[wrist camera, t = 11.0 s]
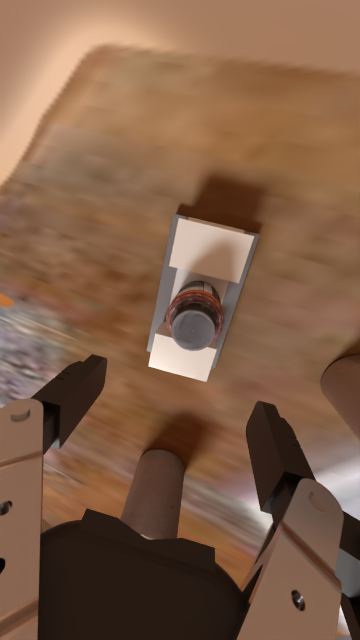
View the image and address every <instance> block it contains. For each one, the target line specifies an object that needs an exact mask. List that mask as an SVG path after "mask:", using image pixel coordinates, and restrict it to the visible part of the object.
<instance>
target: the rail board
mask: <svg viewBox="0 0 360 640" xmlns="http://www.w3.org/2000/svg"><path fill="white" fill-rule="evenodd" d="M259 236H260V234H256V233H252V232H248V231H245V230H241V229H237V228H233V227H229V226H225V225H220V224H216V223H212V222H208V221H204V220H200V219H196V218H191V217H185V216H181V215H177V214H174V215H173V220H172V225H171V230H170V235H169V240H168V245H167V250H166V255H165V260H164V266H163V271H162V276H161V281H160V286H159V291H158V296H157V301H156V306H155V312H154V317H153V322H152V327H151V332H150V337H149V342H148V347H147V351H149V352H151V356H150V361H149V367H153V368H156V369H160V370H164V371H168V372H171V373H175V374H179V375H182V376H186V377H190V378H193V379H197V380H201V381H205V382H206V381H207V378H208V375H209V372H210V369H211V368H212V369H215V366H216V363H217V360H218V357H219V354H220V351H221V348H222V345H223V342H224V339H225V336H226V333H227V330H228V327H229V325H230V322H231V319H232V316H233V313H234V310H235V307H236V304H237V301H238V298H239V295H240V292H241V289H242V286H243V283H244V280H245V277H246V274H247V271H248V268H249V265H250V262H251V259H252V256H253V253H254V250H255V248H256V245H257V242H258V239H259ZM192 281H204V282H207V283H209V284H210V285H212V286H213V287H214V288H215V289H216V291H217V292H218V294H219V297H220V301H221V305H222V309H223V314H224V326H223V330H222V332H221V334H220V335H219V337H218V338H217V339H216V340H215V341H213V342H212V343H211V344H210V345H209V346H208V347H206V348H204V349H202V350H199V351H189V350H185V349H183V348H181V347H180V346H179V345H178V344H177V343H176V342H175V341H174V339H173V337H172V335H171V334H170V332H169V330H168V327H167V323H166V316H167V311H168V308H169V306H170V305H171V303H172V301H173V300H174V298H175V297H176V295H177V294H178V292H179V291H180V289H181V288H182V287H183V286H184V285H186V284H188V283H189V282H192Z"/></svg>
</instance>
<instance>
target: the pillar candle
mask: <svg viewBox="0 0 360 640" xmlns="http://www.w3.org/2000/svg"><path fill="white" fill-rule="evenodd" d="M183 480H184V465H183V463H182V461H181V460H180V458H178V457H177V456H176V455H175V454H173V453H171V452H169V451H165V450H160V449H159V450H158V449H154V450H149V451H147V452H146V453H145V454H144V455H142V457H141V458H140V460H139V462H138V466H137V469H136V472H135V475H134V478H133V481H132V484H131V487H130V490H129V493H128V496H127V499H126V502H125V506H124V509H123V512H122V515H121V518H120V520H121V521H122V522H124V523H125V524H127V525H128V526H129V527H131V528H132V529H133V530H135V531H136V532H137V533H139V534H140V535H142V536H143V537H144V538H146V539H150V540H153V539H173V538H177V532H178V523H179V515H180V507H181V497H182V489H183Z"/></svg>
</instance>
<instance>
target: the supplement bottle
mask: <svg viewBox="0 0 360 640" xmlns="http://www.w3.org/2000/svg"><path fill="white" fill-rule="evenodd" d="M166 323H167V327H168V330H169V332H170V334H171V335H172V337H173V339H174V341H175V342H176V343H177V344H178V345H179V346H180V347H181V348H183V349H185V350H189V351H199V350H202V349H204V348H206V347H208V346H209V345H210V344H211V343H212V342H213V341H215V340H216V339H217V338H218V337H219V335H220V334H221V332H222V330H223V326H224V314H223V309H222V305H221V301H220V297H219V294H218V292H217V291H216V289H215V288H214V287H213V286H212V285H210V284H209V283H207V282H204V281H192V282H189V283H188V284H186V285H184V286H183V287H182V288H181V289H180V291H179V292H178V294H177V295H176V297H175V298H174V300H173V301H172V303H171V305H170V306H169V308H168V311H167V316H166Z"/></svg>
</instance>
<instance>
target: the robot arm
mask: <svg viewBox="0 0 360 640" xmlns="http://www.w3.org/2000/svg"><path fill="white" fill-rule="evenodd" d="M106 368H107V358H104V357H101V356H97V355H93V354H92V355H91V356H90V357H88V358H87V359H86V360H85V361H84V362H81V361H78V362H75V363H73V364H71V365H69V366H68V367H66V368H65V369H64V370H63V371H62V372H61V373H59V374H58V375H57V376H56V377H55V378H53V379H52V380H51V381H50V382H49V383H48V384H46V385H45V386H44V387H43V388H42V389H40V390H39V391H38V392H37V393H36V394H35V395H33V396H32V397H31V398H30V399H20V400H16V401H13V402H11V403H9V404H7V405H5V406H4V407H3V408H1V409H0V640H335V639H336V632H337V624H338V617H339V609H340V605H341V608H342V611H343V614H344V617H345V620H346V623H347V626H348V629H349V632H350V635H351V637H352V640H360V521H359V520H358V519H356V518H354V517H352V516H351V515H349V514H347V513H346V512H344V511H343V510H342V508H341V506H340V504H339V503H338V501H337V500H336V498H335V497H334V496H333V495H332V493H331V492H330V491H329V490H328V489H327V488H325V487H324V486H323V485H321V484H320V483H318V482H317V481H316V479H315V477H314V475H313V473H312V471H311V468H310V466H309V464H308V462H307V460H306V457H305V455H304V453H303V451H302V449H301V448H300V444H299V442H298V440H296V436H295V433H294V431H293V429H292V427H291V426H290V425H289V424H288V423H287V421H286V420H285V419H284V418H281V417H280V416H279V413H278V411H277V408H276V406H275V405H273V404H270V403H266V402H262V401H258V402H257V403H256V405H255V407H254V409H253V412H252V414H251V416H250V418H249V420H248V423H247V426H246V438H247V443H248V449H249V454H250V459H251V464H252V469H253V474H254V479H255V484H256V489H257V494H258V500H259V505H260V510H261V511H263V512H266V513H269V514H272V518H273V523H272V525H271V526H270V528H269V530H268V533H267V535H266V537H265V539H264V541H263V543H262V545H261V547H260V550H259V552H258V554H257V556H256V558H255V560H254V562H253V565H252V567H251V569H250V571H249V573H248V575H247V576H246V578H245V580H244V582H243V583H242V585H241V587H240V588H239V587H238V585H237V584H236V583H235V581H234V580H233V579H232V578H231V577H230V575H229V574H228V573H227V572H226V571H225V570H224V569H223V568H222V567H221V566H219V565H218V564H217V563H215V548H213V547H210V546H207V545H203V544H200V543H197V542H194V541H191V540H187V539H184V538H173V539H153V540H150V539H146V538H144V537H143V536H142V535H140V534H139V533H137V532H136V531H135V530H133V529H132V528H131V527H129V526H128V525H127V524H125V523H124V522H122V521H121V520H120V519H118V518H116V517H113V516H110V515H106V514H103V513H100V512H97V511H93V510H90V509H86V511H85V513H84V516H83V518H82V520H75V521H70V522H66V523H62V524H59V525H57V526H55V527H52V528H50V529H48V530H46V531H45V532H43V533H42V510H43V455H44V454H45V453H46V452H47V450H48V449H49V448H50V447H51V448H55V449H58V450H59V449H60V448H61V446H62V445H63V444H64V442H65V441H66V440H67V438H68V437H69V436H70V434H71V433H72V432H73V430H74V429H75V427H76V426H77V425H78V423H79V422H80V421H81V419H82V418H83V417H84V415H85V414H86V412H87V411H88V410H89V408H90V407H91V406H92V404H93V403H94V402H95V400H96V399H97V398H98V396H99V395H100V393H101V391H102V389H103V387H104V383H105V376H106ZM321 389H322V391H323V394H324V395H325V396H326V398H327V399H328V400H329V402H330V403H331V404H332V405H333V407H334V408H335V409H336V411H337V412H338V413H339V415H340V416H341V417H342V418H343V420H344V421H345V422H346V424H347V425H348V426H349V427H350V429H351V430H352V431H353V433H354V434H355V435H356V436H357V438H358V439H359V440H360V355H351V356H347V357H344V358H342V359H339V360H338V361H336V362H334V363H333V364H332V365H331V366H330V367H328V369H327V370H326V371H325V373H324V375H323V377H322V380H321Z"/></svg>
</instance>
